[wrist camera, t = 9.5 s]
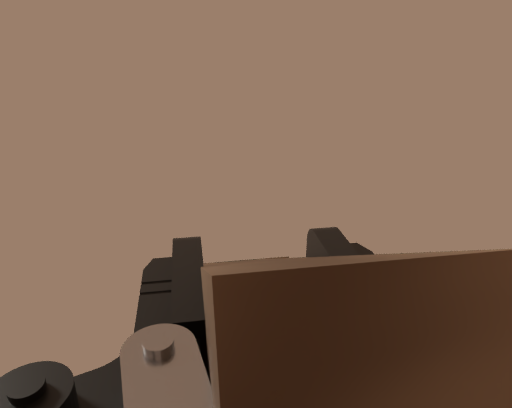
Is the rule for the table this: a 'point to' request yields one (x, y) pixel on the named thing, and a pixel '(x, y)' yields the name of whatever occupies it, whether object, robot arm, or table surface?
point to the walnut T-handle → (361, 331)
